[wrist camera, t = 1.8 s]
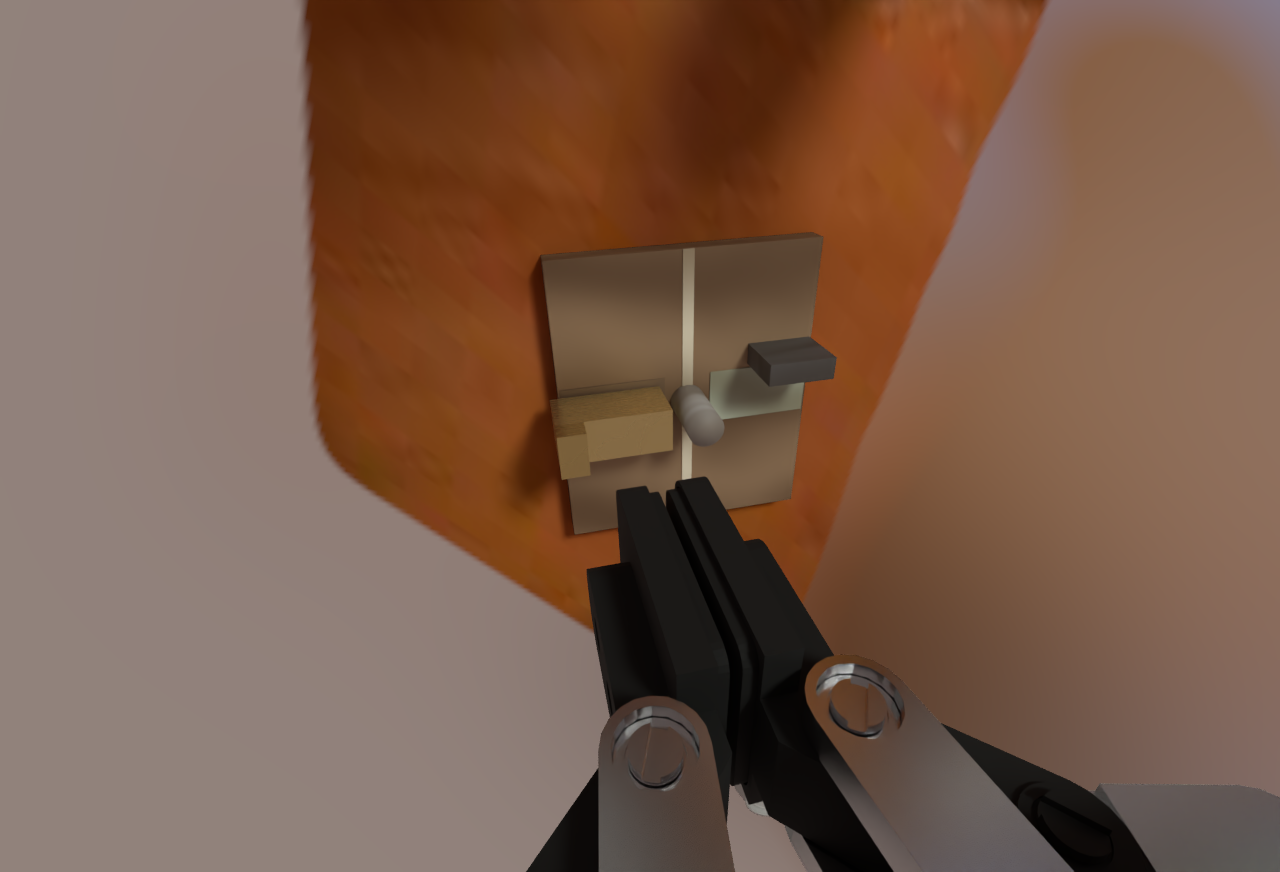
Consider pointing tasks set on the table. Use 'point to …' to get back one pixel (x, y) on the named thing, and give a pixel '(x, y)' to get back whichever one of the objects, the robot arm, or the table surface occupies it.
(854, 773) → the robot arm
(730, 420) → the lock board
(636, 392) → the latch bar
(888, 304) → the table surface
